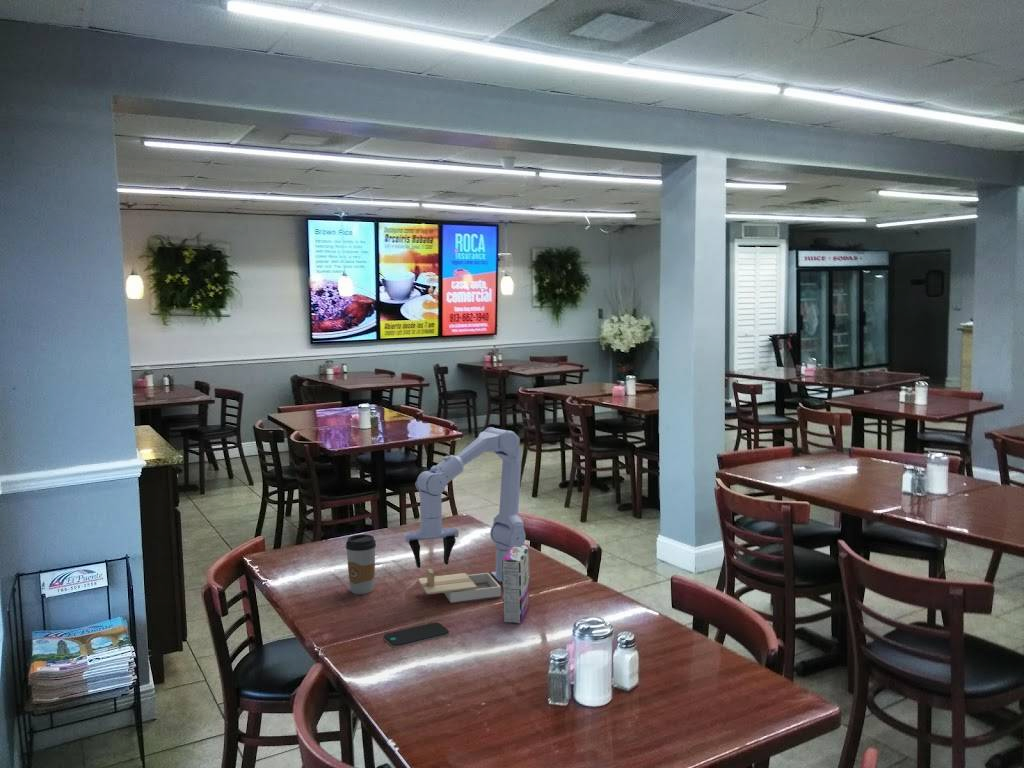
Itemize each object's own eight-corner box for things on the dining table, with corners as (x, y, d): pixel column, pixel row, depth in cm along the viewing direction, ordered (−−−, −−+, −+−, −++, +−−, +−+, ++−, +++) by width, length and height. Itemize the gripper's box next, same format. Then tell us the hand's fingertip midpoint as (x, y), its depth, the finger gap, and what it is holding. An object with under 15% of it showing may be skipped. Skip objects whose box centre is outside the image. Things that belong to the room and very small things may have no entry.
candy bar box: (511, 606, 208) (510, 545, 206) (529, 607, 207) (529, 546, 205) (502, 623, 197) (501, 559, 195) (521, 624, 196) (521, 560, 194)
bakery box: (488, 582, 226) (488, 572, 225) (500, 597, 214) (500, 586, 214) (440, 588, 221) (440, 578, 221) (450, 603, 210) (450, 592, 210)
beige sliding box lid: (465, 574, 223) (465, 559, 223) (476, 588, 212) (476, 572, 212) (418, 580, 219) (417, 565, 218) (427, 594, 208) (426, 578, 207)
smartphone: (381, 634, 189) (437, 621, 197) (381, 637, 190) (437, 624, 197) (393, 646, 183) (451, 631, 191) (393, 649, 183) (451, 635, 191)
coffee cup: (340, 592, 219) (339, 540, 217) (359, 583, 226) (358, 532, 224) (364, 597, 215) (363, 544, 213) (383, 588, 222) (382, 536, 221)
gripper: (453, 509, 218) (454, 557, 220) (401, 514, 214) (403, 563, 215) (460, 516, 212) (461, 565, 213) (406, 521, 207) (407, 571, 208)
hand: (432, 565), depth 214 cm, fingers open, 7 cm apart
